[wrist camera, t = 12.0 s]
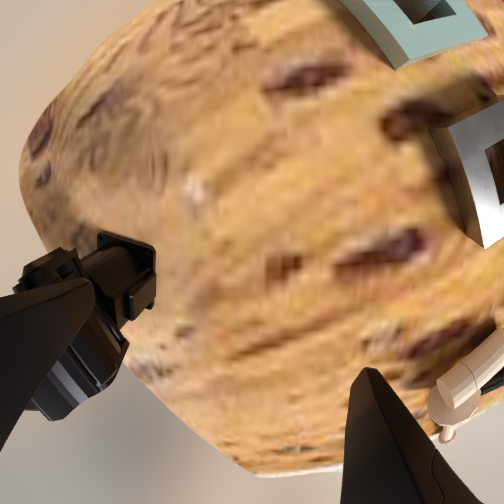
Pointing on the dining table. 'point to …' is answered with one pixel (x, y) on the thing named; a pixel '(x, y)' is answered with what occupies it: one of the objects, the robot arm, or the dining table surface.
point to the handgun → (493, 382)
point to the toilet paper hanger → (465, 385)
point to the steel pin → (415, 8)
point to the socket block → (475, 167)
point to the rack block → (416, 29)
